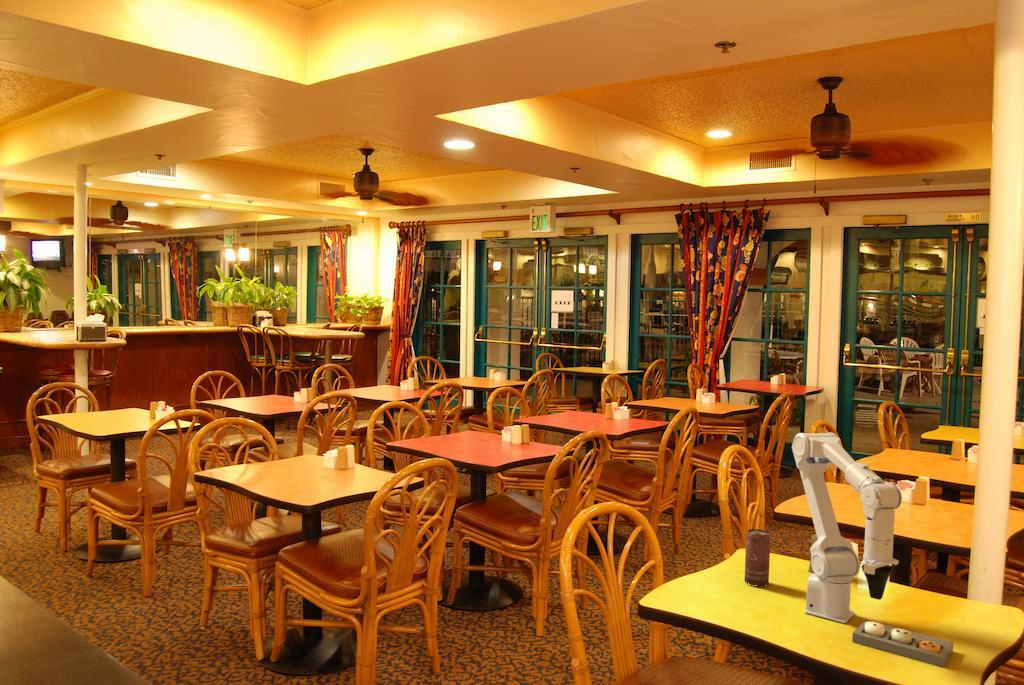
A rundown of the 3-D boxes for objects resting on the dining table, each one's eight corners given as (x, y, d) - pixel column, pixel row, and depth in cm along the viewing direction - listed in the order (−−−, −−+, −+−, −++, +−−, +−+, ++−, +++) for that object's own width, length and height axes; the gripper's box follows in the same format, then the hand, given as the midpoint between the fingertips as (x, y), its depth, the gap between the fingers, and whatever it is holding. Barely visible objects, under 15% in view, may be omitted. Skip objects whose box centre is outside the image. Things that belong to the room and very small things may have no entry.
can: (766, 589, 202) (768, 536, 202) (741, 584, 206) (743, 532, 205) (771, 582, 208) (774, 531, 207) (748, 577, 211) (750, 527, 210)
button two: (889, 642, 169) (889, 631, 168) (893, 636, 172) (894, 626, 172) (909, 647, 166) (909, 636, 166) (913, 641, 169) (914, 631, 169)
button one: (862, 634, 172) (862, 624, 172) (867, 629, 175) (867, 619, 175) (881, 640, 170) (882, 629, 169) (886, 634, 173) (886, 624, 173)
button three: (916, 654, 165) (917, 644, 165) (920, 648, 168) (921, 638, 168) (937, 660, 163) (938, 649, 163) (941, 654, 166) (942, 643, 166)
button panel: (852, 641, 172) (852, 633, 171) (864, 627, 179) (865, 619, 179) (943, 667, 160) (944, 657, 160) (953, 651, 168) (953, 642, 168)
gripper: (890, 548, 163) (887, 612, 164) (906, 534, 174) (903, 593, 175) (854, 541, 168) (852, 603, 168) (873, 527, 179) (870, 585, 179)
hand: (876, 597), depth 172 cm, fingers closed
